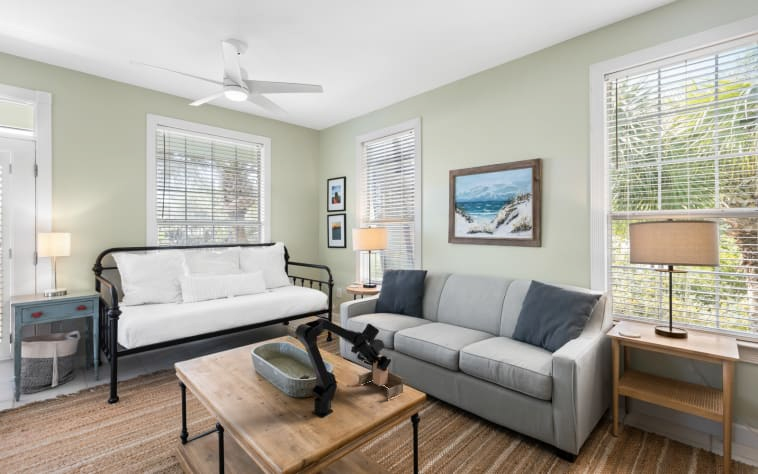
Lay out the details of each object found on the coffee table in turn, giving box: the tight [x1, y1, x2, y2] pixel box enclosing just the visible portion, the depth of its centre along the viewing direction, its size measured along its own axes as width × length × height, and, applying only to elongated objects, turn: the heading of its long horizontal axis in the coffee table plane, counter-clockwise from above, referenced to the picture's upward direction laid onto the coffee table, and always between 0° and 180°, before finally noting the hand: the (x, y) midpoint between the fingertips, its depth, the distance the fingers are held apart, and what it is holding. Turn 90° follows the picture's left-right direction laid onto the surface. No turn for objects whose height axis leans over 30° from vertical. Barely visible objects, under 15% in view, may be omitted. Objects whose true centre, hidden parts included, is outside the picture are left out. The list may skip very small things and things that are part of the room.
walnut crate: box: [358, 365, 404, 400], centre depth 168 cm, size 9×21×8 cm, turn 42°
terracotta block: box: [372, 354, 389, 387], centre depth 168 cm, size 5×5×12 cm
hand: (382, 368), depth 169 cm, fingers closed on terracotta block, 5 cm apart
